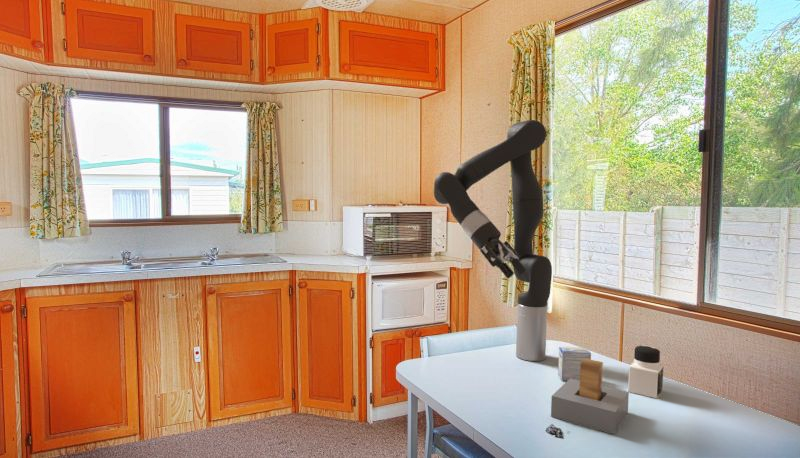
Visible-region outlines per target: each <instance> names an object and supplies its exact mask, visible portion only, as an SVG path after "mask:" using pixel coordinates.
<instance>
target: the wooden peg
mask: <svg viewBox="0 0 800 458" xmlns="http://www.w3.org/2000/svg"><path fill="white" fill-rule="evenodd" d="M603 366H604V362H603V361H600V360H594V359H591V360H590V359H584V360H583V361H582V362H581V364H580V388H579V396H582V397H586V398H590V399H594V400H598V401H601V392H602V386H603V384H602V383H603V368H604V367H603Z"/></svg>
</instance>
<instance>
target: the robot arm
mask: <svg viewBox="0 0 800 458" xmlns="http://www.w3.org/2000/svg"><path fill="white" fill-rule="evenodd" d="M546 137H547V131H546V128H545V125H544V124H543V123H542V122H540V121H538V120H533V119H529V120H524V121H518V122H516V123H513V124H512V125H511V126H510V127H509V129H508V131H507V135H506V139H505V140H504V141H502V142H500V143H499V144H497V145H494V146H492V147H490V148H488V149H486V150H484V151H481V152H479V153H478V154H475V155H473V156H472V157H471V158H469V159H467V160H466V161H465V162H463V163H462V164H460V165H459V166H458V168H457V169H456V171H455V172H454V173H451V172H448V171H445V172H441V173H439V174H438V175H437V176H436V177H435V179H434V183H433V196H434V199H435V201H437V203H438V204H442V205H448V206H449V209H450V212H451V214H452V217H453V218H454V219H455V220H456V221H457V222H458V223H459V225H460V226H461V228H462V229H463V231H464V233H465V234H466V235H467V237H469V239H470V240H471V241H472V242H473V244H474V245H475V246H476V247H477V249H479V251H480V253H481V254H482V256H483V257H484V258H485V259H486V260H487V262H488V263H489V265H491V266H492V267H493V268H494V267H496V268H498V269H499V270H500V271H501V273H503V275H504V277H506V278H507V279H510V278H512V276H515V277H516V279H517V280H519V281H520V282H524V283H529V284H528V289H527V291H526V292H521V293H519V294H518V295H517V308H516V309H517V310H516V311H517V312H516V313H517V314H516V338H515V339H516V340H515V341H516V343H515V344H516V345H515V356H516V357H517V358H518V359H520V360H524V361H530V362H540V361H544V360H545V359H546V353H547V352H546V349H547V347H546V346H547V327H548V326H547V324H548V323H547V322H548V301H549V299H550V294H551V287H552V286H551V285H552V273H553V268H552V267H553V266H552V263H551V260H550V259H549V258H548V257H546V256H544V255H539V254H534V252H533V239H534V235H535V232H536V230H537V228H538V227H539V225H540V222H541V220H542V219H543V214H544V201H543V200H544V198H543V191H542V188H541V184H540V183H539V180H538V178H537V176H536V174H535V171H534V168H533V165H532V151H534V150H537V149H539V148H541V146H542V145H543V144H545V141H546ZM508 163H510V170H511V171H510V172H511V186H512V211H513V212H512V213H513V227H514V228H513V231H514V234H513V235H514V237H513V238H514V239H513V240H514V241H513V243H514V245H513V247H512V245H511V244H510V243H509V242H508V241H507V240H506V241H504V242H502V241H501V240H500V238H501V236H502V233H501V231H500V230H499V229H498V228H497V226H495V224H494V223H493V222H492V221H491V219H489V217H488V216H487V215H486V214H485V213H484V212H483V211H482V210H481V209H480V208H479V207H478V206H477V205H476V203H475V202H474V201H473V200H472V199H471V198H470V196H469V194H468V192H467V191H468V190H469V189H470V188H471V187H472V186H474V185H475V184H477V183H478V182H480V181H481V180H482V179H484V178H486V177H487V176H489V175H490V174H492V173H493V172H495V171H496V170H498V169H500V168H501V167H502V166H504V165H506V164H508ZM507 262H508V263H510V265H512V267H513V268H511V267H510V266H509V265H508V264H507ZM512 269H513V270H512Z"/></svg>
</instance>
